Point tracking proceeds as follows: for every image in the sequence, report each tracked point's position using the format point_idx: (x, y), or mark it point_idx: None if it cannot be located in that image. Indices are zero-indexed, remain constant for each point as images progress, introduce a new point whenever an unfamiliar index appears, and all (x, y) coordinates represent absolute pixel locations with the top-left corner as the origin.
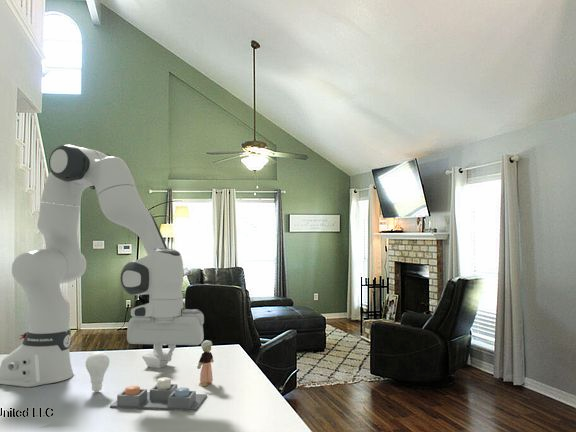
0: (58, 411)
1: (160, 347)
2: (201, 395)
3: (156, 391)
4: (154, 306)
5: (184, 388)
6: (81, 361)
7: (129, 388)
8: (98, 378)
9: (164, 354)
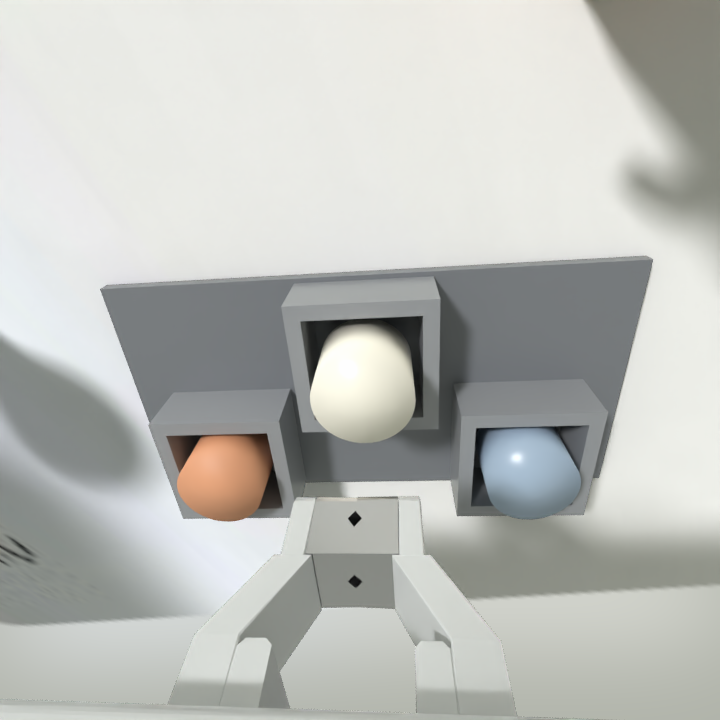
0: (15, 527)
1: (285, 694)
2: (613, 285)
3: None
4: None
5: (545, 468)
6: None
7: (207, 500)
8: None
9: (351, 590)
